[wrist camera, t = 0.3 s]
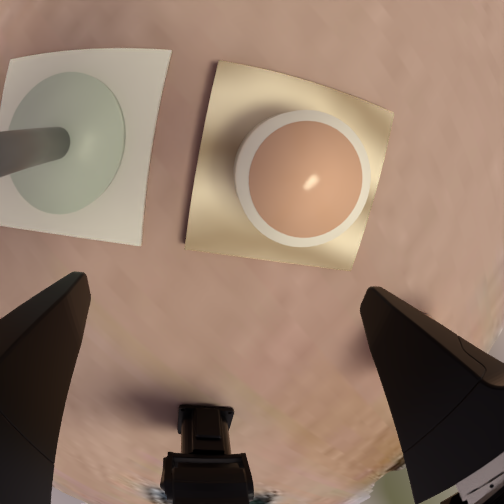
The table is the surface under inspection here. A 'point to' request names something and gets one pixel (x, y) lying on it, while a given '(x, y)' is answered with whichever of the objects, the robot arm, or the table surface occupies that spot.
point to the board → (229, 140)
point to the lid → (64, 143)
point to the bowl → (302, 177)
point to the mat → (136, 143)
